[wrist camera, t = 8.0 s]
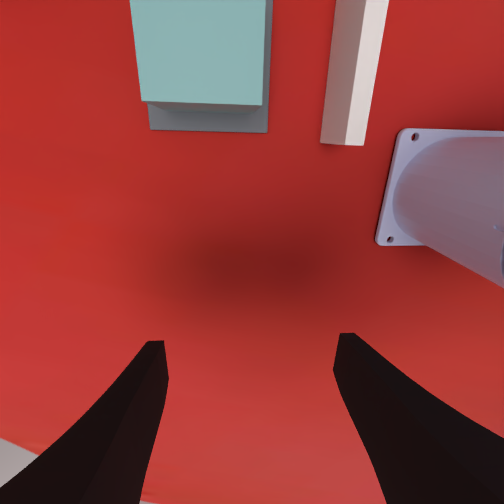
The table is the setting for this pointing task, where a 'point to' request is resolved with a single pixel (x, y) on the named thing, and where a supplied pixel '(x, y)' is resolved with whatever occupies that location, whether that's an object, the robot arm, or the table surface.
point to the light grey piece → (352, 70)
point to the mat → (222, 121)
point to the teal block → (200, 54)
